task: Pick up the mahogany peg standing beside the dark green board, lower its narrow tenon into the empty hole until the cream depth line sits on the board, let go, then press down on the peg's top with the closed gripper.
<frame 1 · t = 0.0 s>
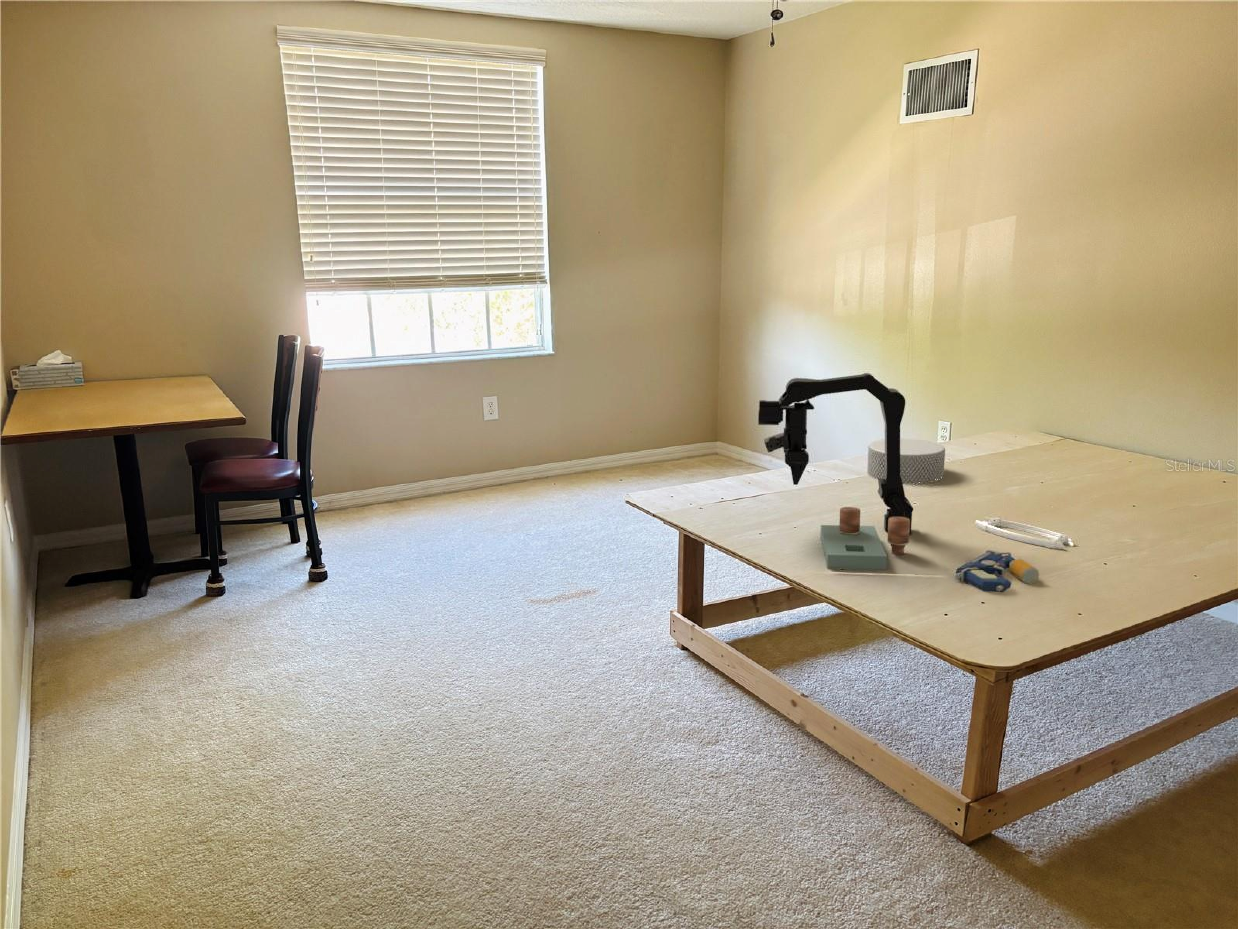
hand: (794, 480, 232), 15 cm above the table, tool pointing down, fingers open, 9 cm apart
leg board: (851, 554, 216), on the table
seated peg: (848, 544, 222), resting in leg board
peg: (897, 554, 214), on the table
door handle: (1022, 538, 225), on the table
spray gun: (998, 580, 198), on the table
knob: (904, 475, 289), on the table
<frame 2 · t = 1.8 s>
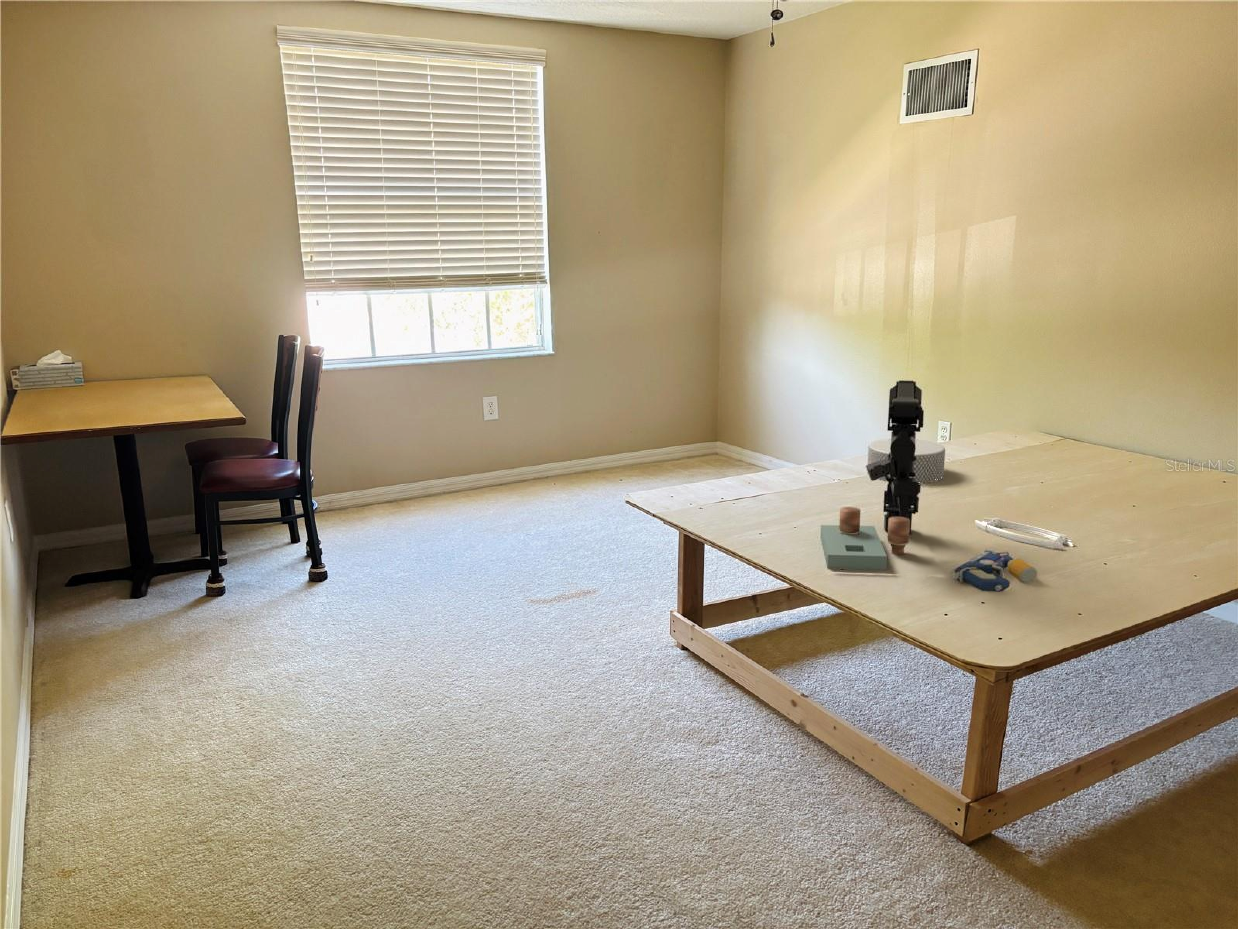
hand: (899, 510, 212), 12 cm above the table, tool pointing down, fingers open, 9 cm apart
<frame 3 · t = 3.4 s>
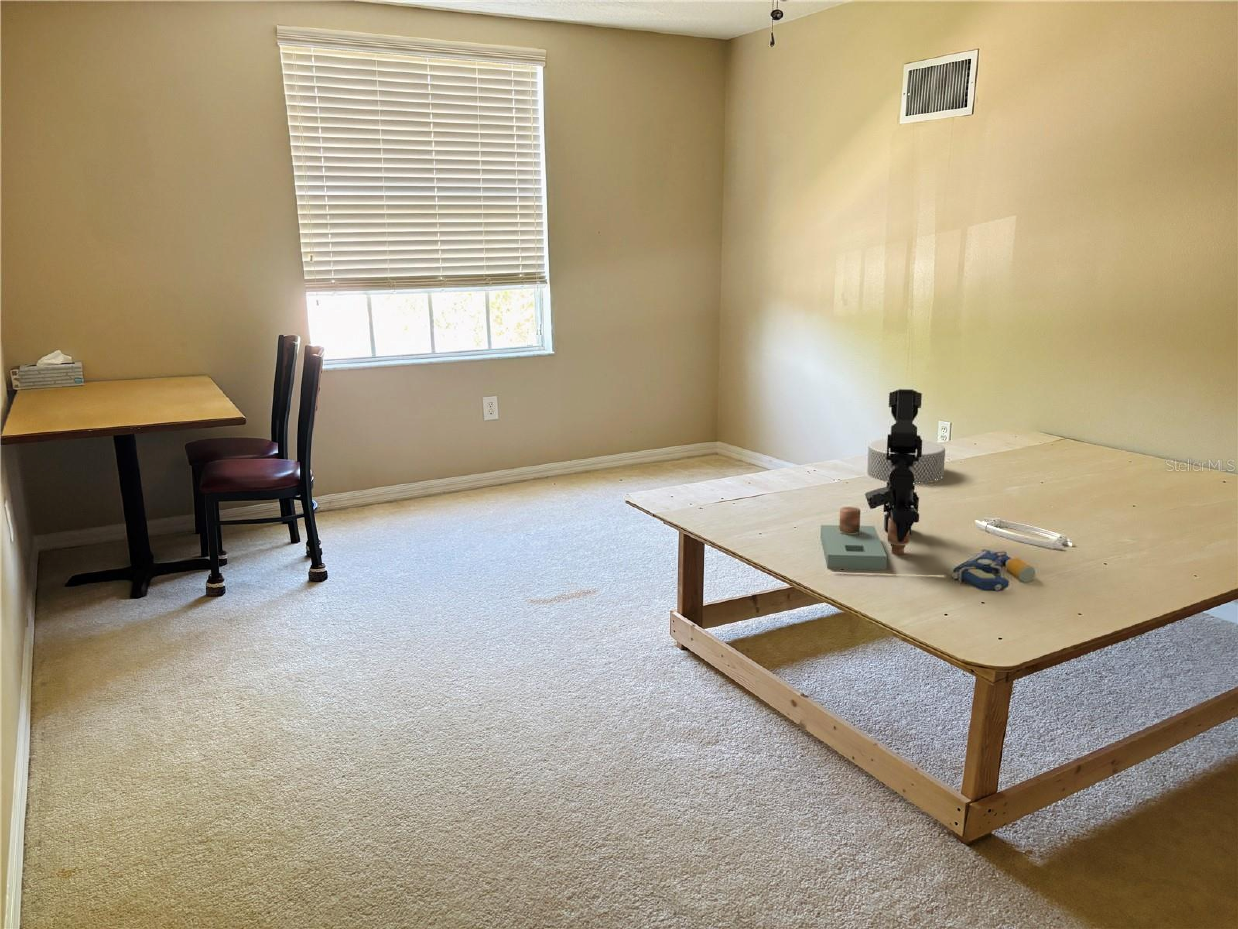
hand: (898, 538, 213), 5 cm above the table, tool pointing down, fingers closed on peg, 5 cm apart
peg: (897, 554, 214), on the table, touching gripper
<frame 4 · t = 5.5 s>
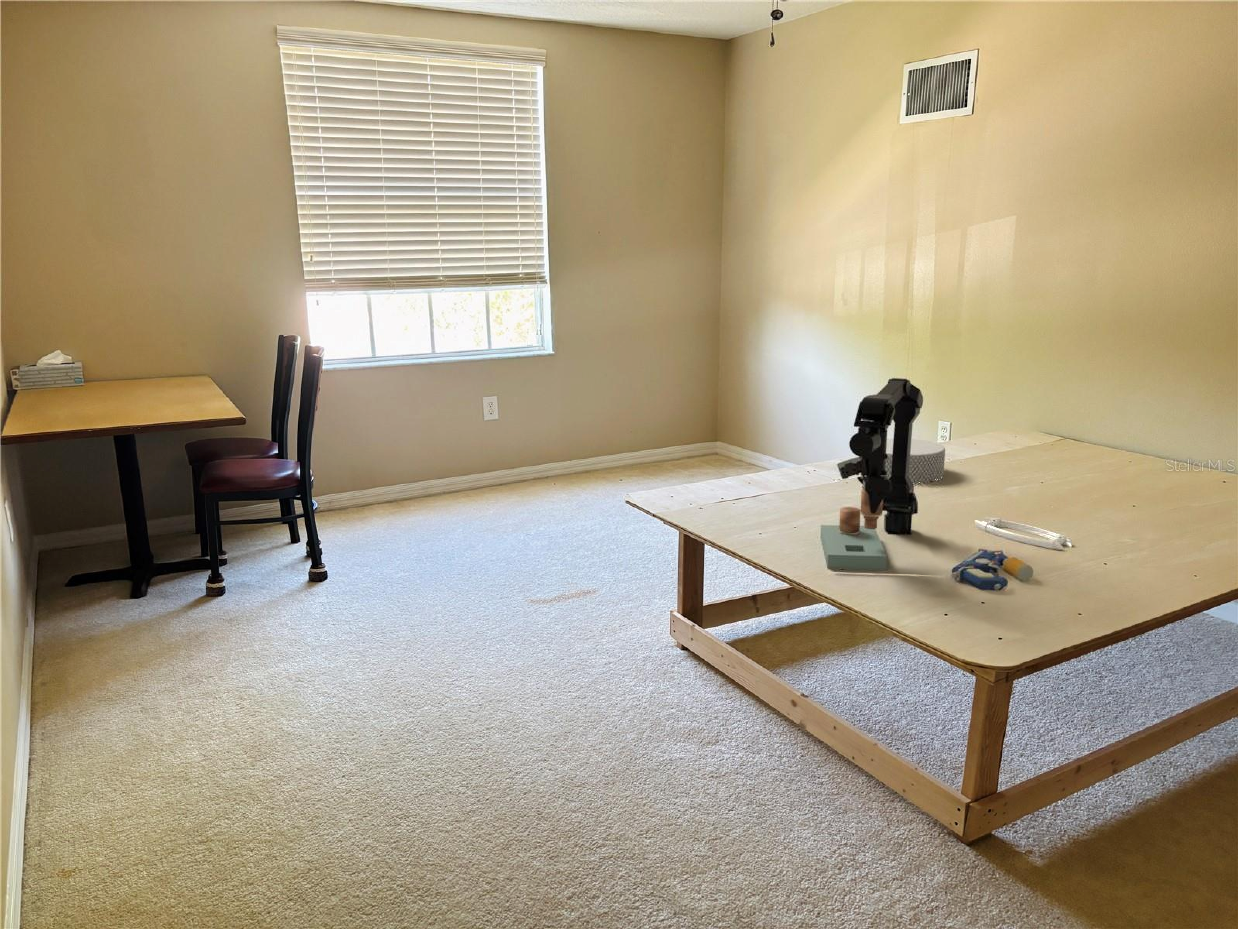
hand: (871, 510, 207), 14 cm above the table, tool pointing down, fingers closed on peg, 5 cm apart
peg: (870, 527, 208), point 9 cm above the table, touching gripper
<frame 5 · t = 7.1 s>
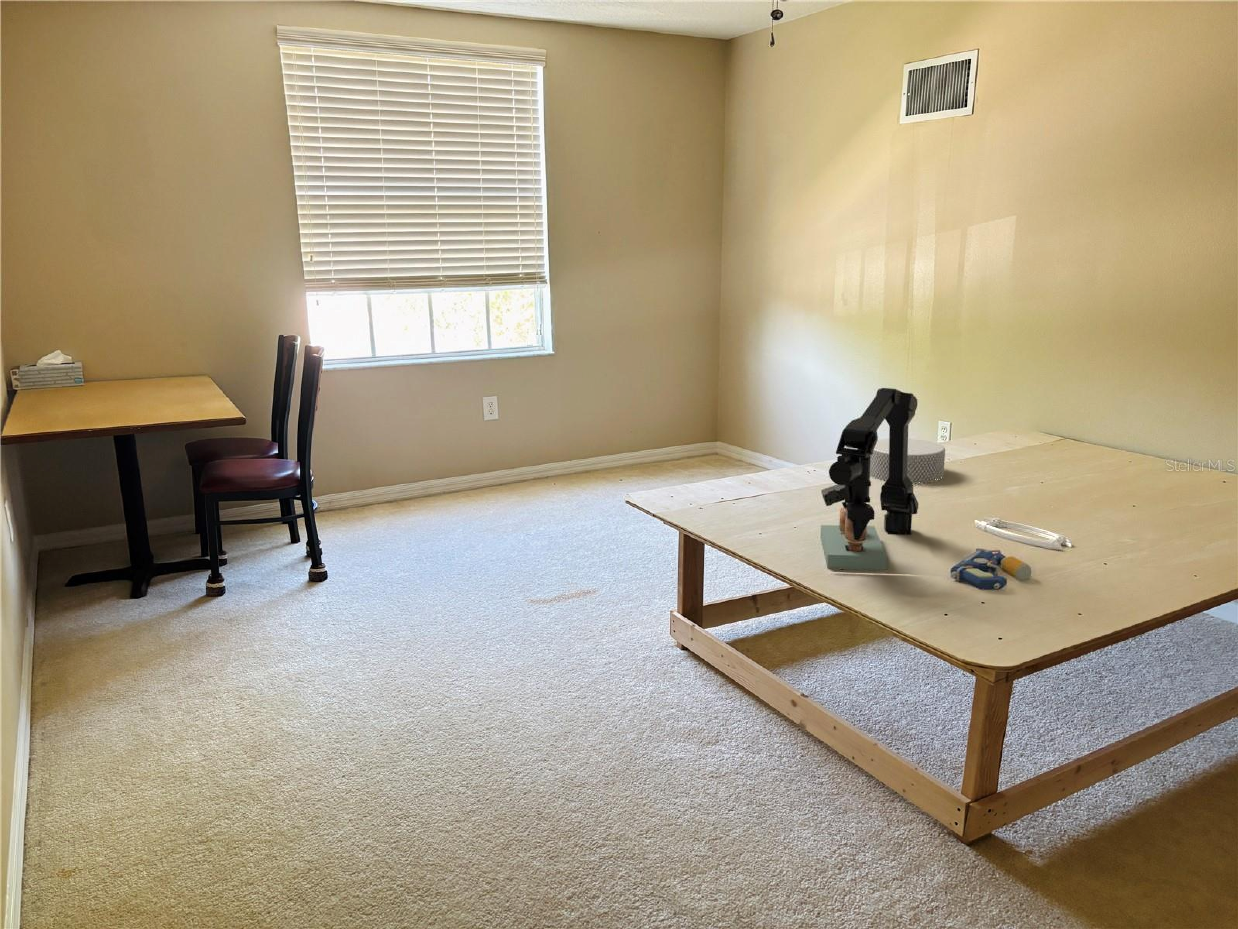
hand: (855, 536, 208), 7 cm above the table, tool pointing down, fingers closed on peg, 5 cm apart
peg: (855, 553, 209), point 3 cm above the table, touching gripper
when the fingers open (6 cm above the table, at t = 8.4 s): peg stays where it is, resting on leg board.
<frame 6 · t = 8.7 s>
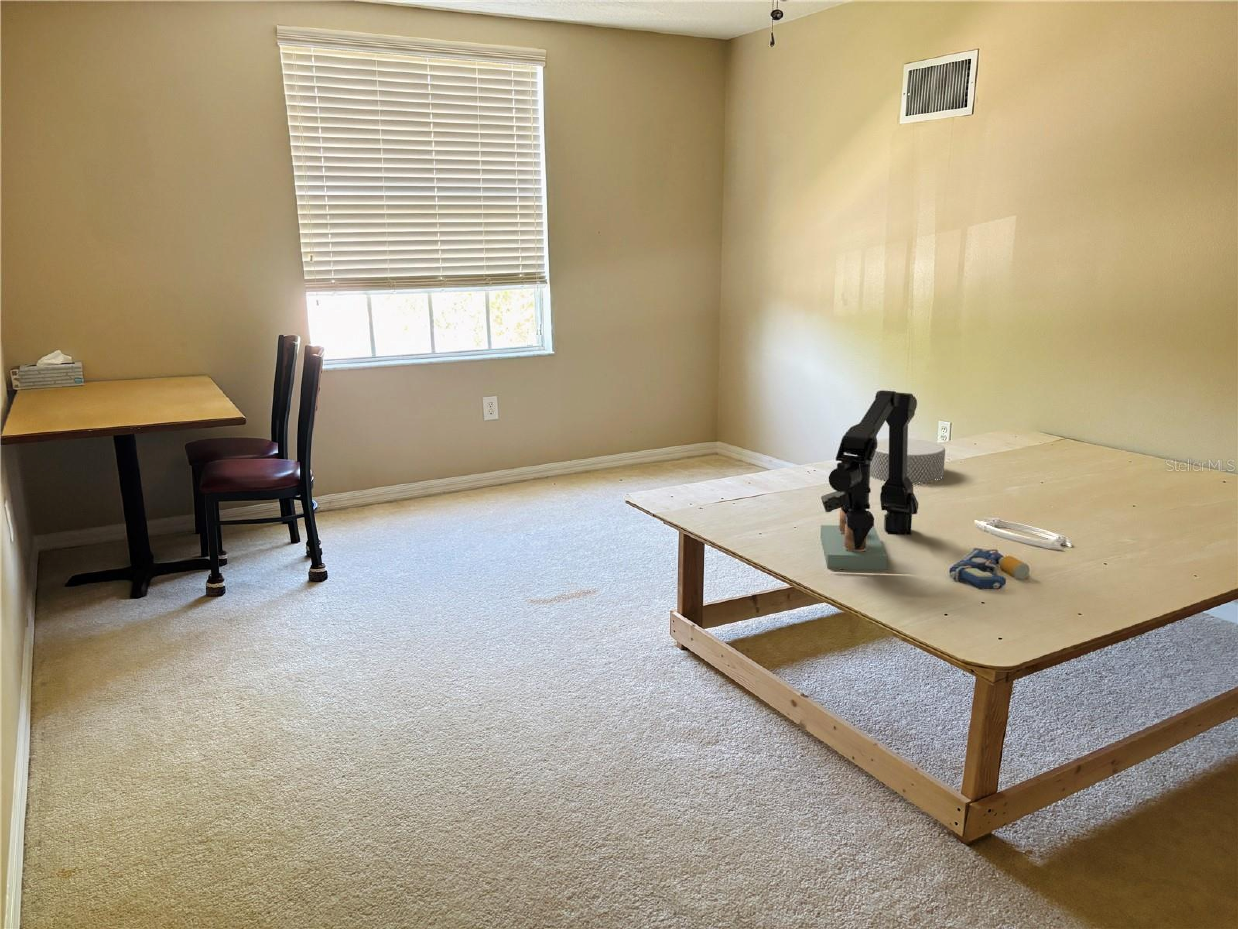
hand: (855, 542, 208), 6 cm above the table, tool pointing down, fingers open, 9 cm apart
peg: (854, 561, 209), resting on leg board
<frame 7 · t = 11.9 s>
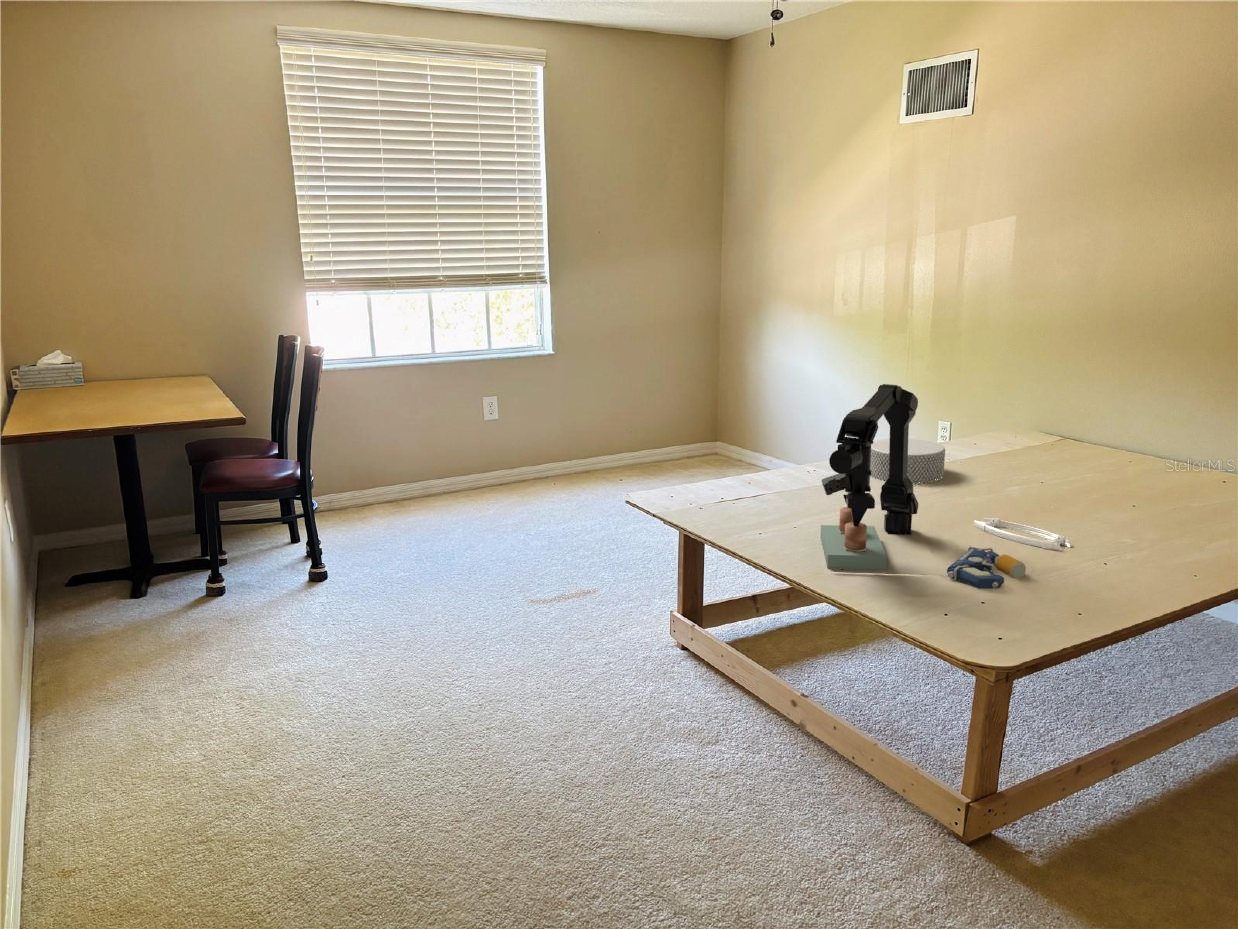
hand: (855, 525, 207), 10 cm above the table, tool pointing down, fingers closed, pressing on peg
peg: (854, 561, 209), resting on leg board, touching gripper
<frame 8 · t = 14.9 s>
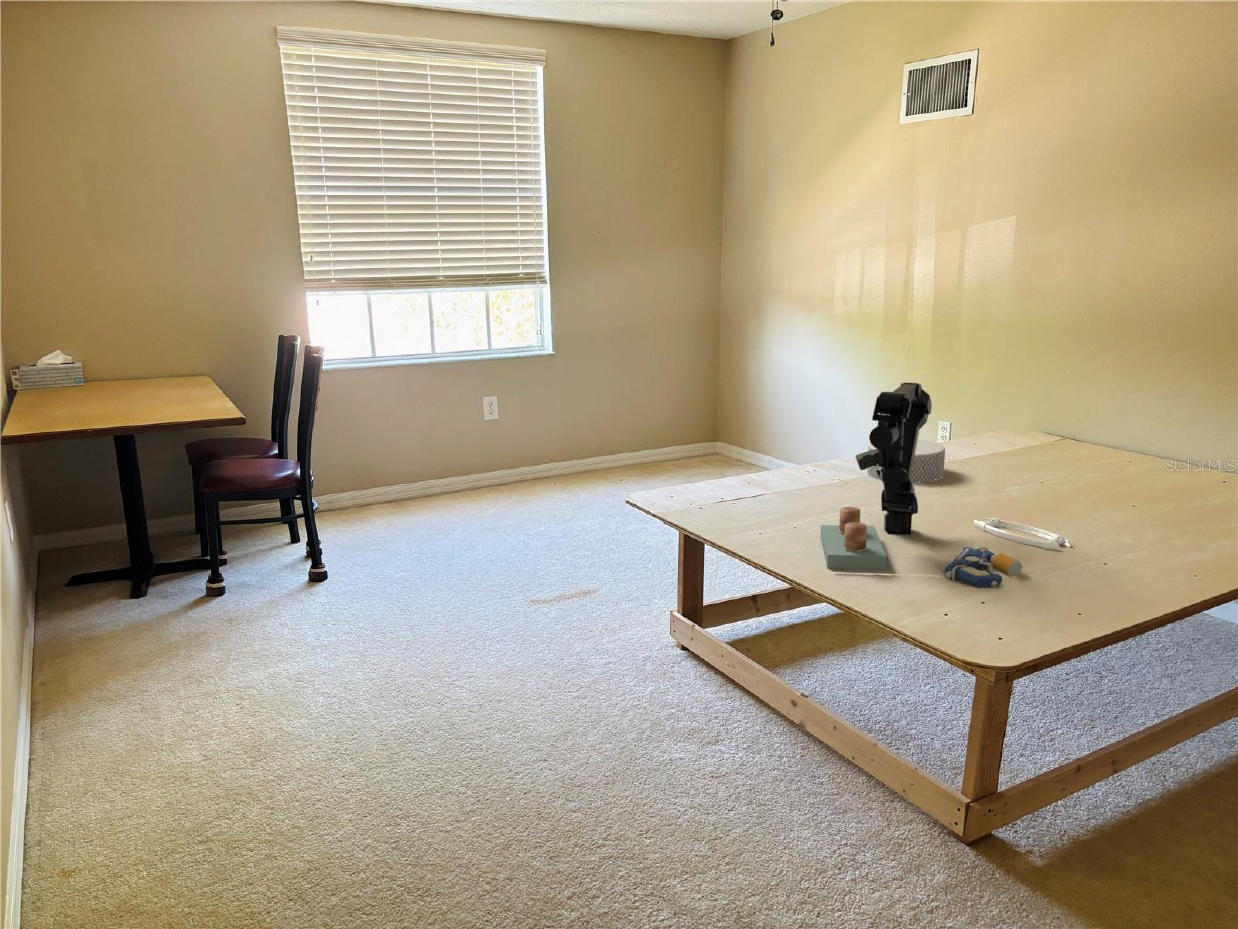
hand: (888, 499, 217), 13 cm above the table, tool pointing down, fingers closed
peg: (854, 561, 209), resting on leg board
at the end: peg 0.1 cm from the target spot on the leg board, point 0.5 cm above the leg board's base; peg tilted 0°; seated peg moved 0.0 cm from its start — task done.
